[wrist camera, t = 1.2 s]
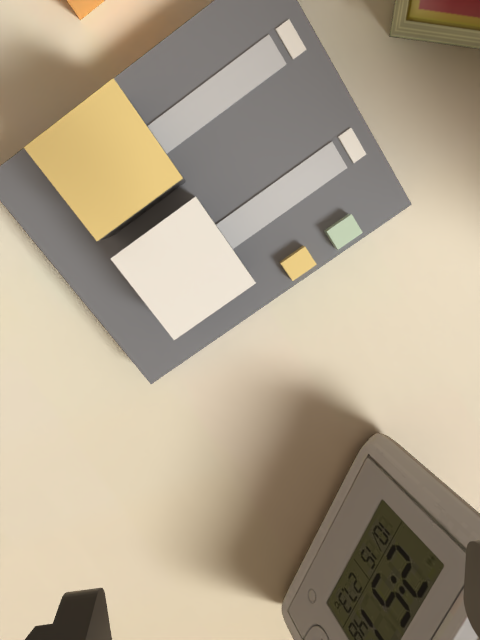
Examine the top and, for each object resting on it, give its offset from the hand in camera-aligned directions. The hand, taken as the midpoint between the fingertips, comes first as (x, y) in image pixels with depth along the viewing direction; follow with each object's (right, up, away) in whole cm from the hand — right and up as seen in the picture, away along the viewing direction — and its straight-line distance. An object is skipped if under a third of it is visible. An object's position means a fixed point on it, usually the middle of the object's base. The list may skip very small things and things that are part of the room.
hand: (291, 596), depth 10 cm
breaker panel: (-3, +13, +16) cm, 21 cm away
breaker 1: (-7, +14, +13) cm, 21 cm away
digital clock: (+7, -9, +23) cm, 25 cm away
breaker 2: (-4, +9, +15) cm, 18 cm away
